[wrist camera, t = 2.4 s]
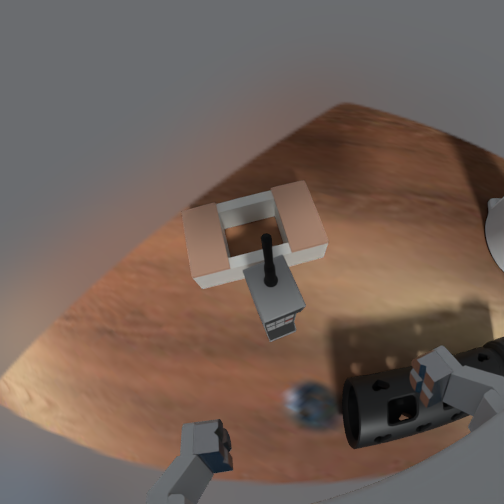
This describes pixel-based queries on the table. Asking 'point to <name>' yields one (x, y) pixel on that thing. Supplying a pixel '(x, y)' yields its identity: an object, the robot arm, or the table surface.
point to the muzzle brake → (404, 400)
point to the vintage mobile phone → (274, 292)
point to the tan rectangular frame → (245, 211)
